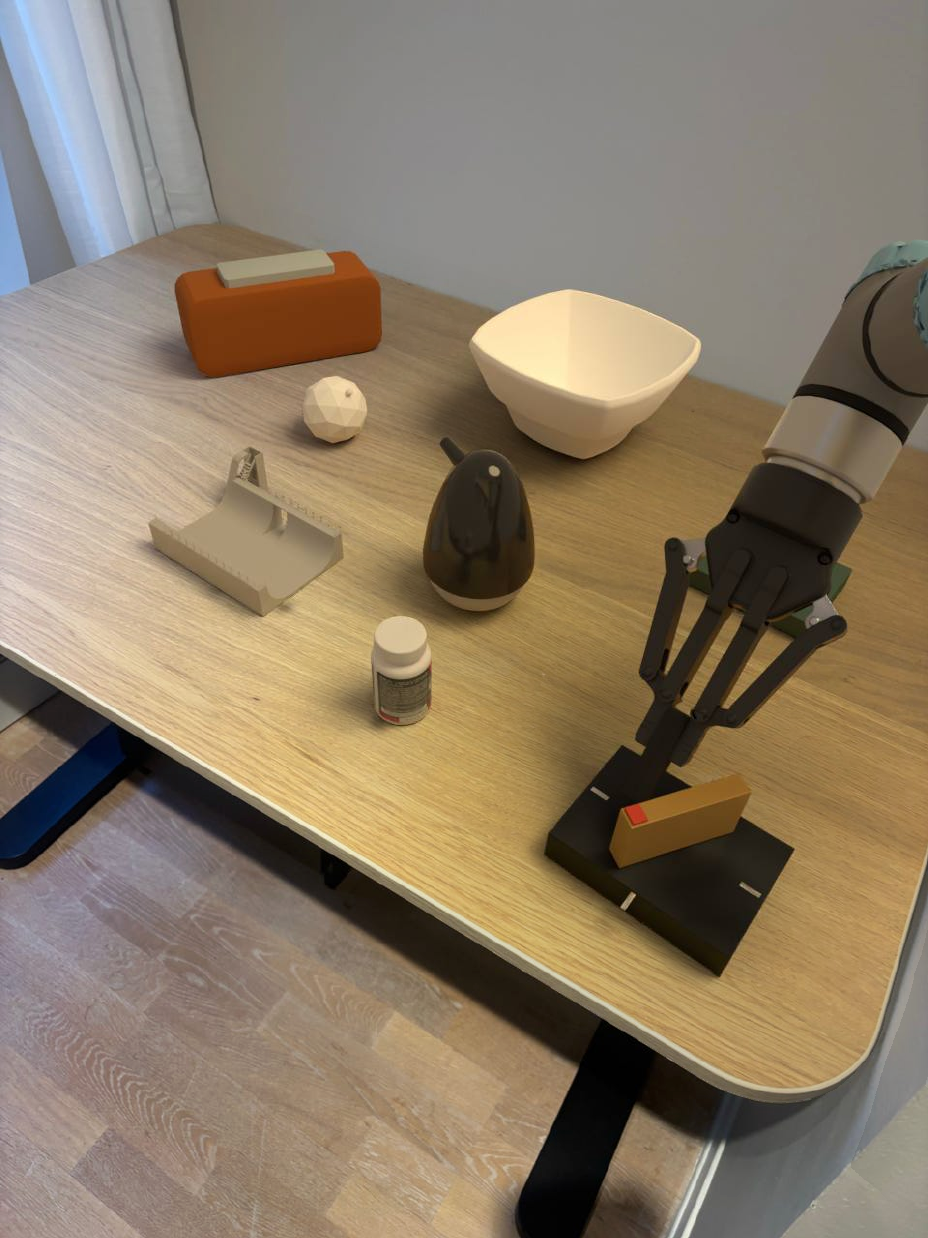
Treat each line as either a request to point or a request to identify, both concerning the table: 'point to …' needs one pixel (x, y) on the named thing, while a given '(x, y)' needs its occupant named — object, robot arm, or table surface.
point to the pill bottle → (401, 670)
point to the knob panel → (670, 869)
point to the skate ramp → (252, 541)
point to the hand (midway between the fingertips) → (635, 796)
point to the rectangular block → (678, 820)
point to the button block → (792, 622)
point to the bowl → (581, 367)
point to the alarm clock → (278, 311)
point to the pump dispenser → (479, 531)
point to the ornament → (334, 409)
